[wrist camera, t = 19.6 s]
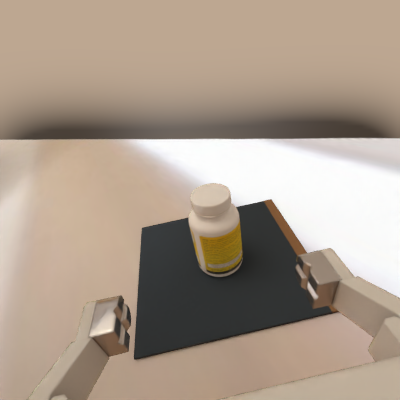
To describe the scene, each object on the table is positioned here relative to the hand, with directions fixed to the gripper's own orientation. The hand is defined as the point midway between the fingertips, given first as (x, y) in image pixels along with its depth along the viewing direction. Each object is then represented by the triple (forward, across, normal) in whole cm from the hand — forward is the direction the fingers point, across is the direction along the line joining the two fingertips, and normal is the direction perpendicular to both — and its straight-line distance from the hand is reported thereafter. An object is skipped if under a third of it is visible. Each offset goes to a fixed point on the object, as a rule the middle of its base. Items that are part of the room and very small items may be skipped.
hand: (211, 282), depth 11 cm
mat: (+13, -2, +14) cm, 19 cm away
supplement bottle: (+13, -2, +14) cm, 19 cm away
